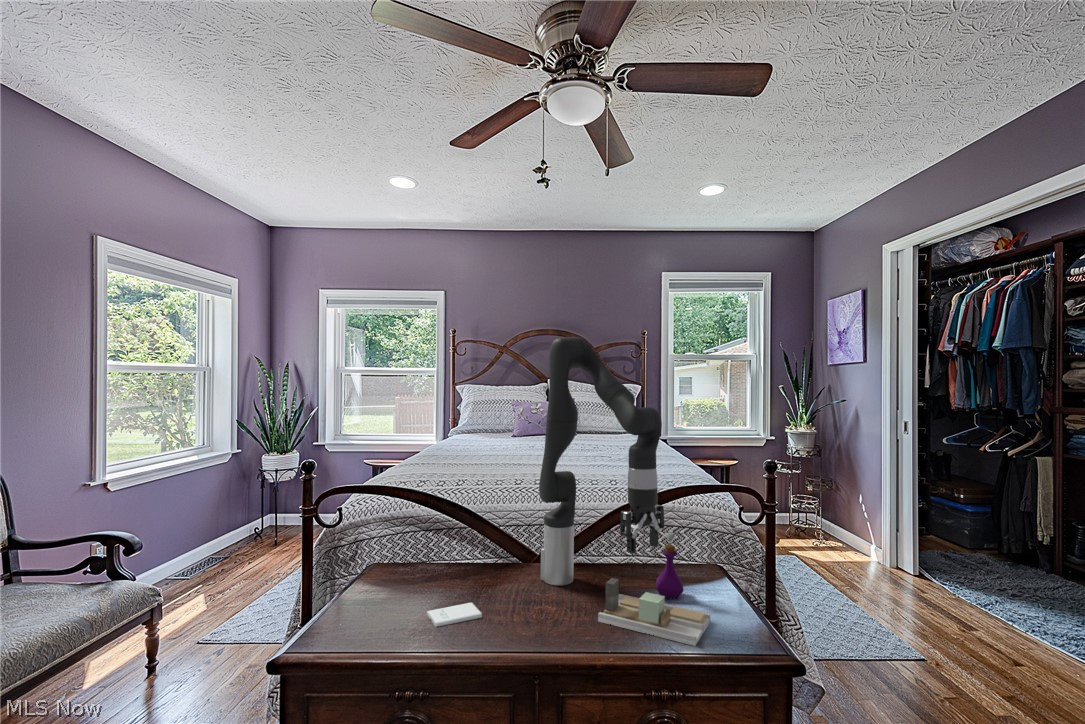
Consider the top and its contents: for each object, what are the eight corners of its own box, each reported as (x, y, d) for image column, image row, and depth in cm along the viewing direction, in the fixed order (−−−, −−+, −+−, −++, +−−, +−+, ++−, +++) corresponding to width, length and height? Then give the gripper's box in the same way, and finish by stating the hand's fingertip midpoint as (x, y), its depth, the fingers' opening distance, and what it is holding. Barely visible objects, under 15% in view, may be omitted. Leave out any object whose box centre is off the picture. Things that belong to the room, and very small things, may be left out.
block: (638, 618, 142) (639, 598, 142) (645, 611, 146) (645, 592, 146) (658, 623, 140) (658, 603, 140) (664, 615, 144) (664, 596, 144)
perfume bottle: (683, 602, 158) (684, 538, 158) (656, 600, 160) (656, 536, 160) (682, 592, 166) (682, 530, 166) (656, 590, 167) (656, 528, 167)
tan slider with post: (603, 615, 147) (604, 583, 147) (611, 608, 151) (611, 577, 151) (664, 629, 139) (664, 596, 139) (670, 622, 143) (670, 589, 143)
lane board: (598, 621, 146) (598, 611, 146) (619, 600, 159) (620, 591, 159) (695, 646, 134) (695, 635, 134) (710, 621, 147) (710, 611, 147)
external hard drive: (481, 619, 148) (435, 629, 142) (471, 607, 155) (426, 616, 149) (482, 613, 148) (435, 622, 142) (471, 601, 155) (426, 610, 149)
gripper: (635, 490, 138) (635, 558, 137) (671, 484, 147) (672, 547, 146) (612, 486, 144) (612, 551, 143) (649, 480, 153) (649, 541, 152)
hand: (643, 549), depth 145 cm, fingers open, 8 cm apart
